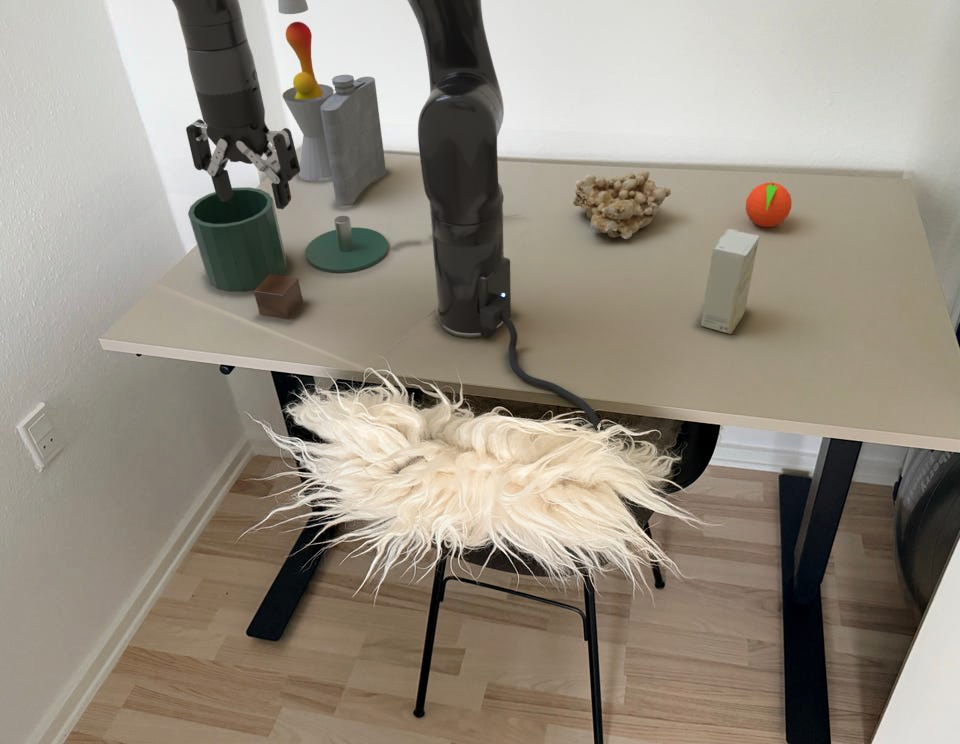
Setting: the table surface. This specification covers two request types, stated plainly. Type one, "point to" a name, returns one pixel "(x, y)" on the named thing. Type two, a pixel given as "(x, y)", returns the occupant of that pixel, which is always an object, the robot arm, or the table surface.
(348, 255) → the teal disc with peg
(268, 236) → the open teal cylindrical container
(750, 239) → the cosmetic box
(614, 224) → the mineral formation
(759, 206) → the clementine
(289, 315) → the block
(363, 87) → the hip flask
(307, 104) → the lava lamp
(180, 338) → the table surface
